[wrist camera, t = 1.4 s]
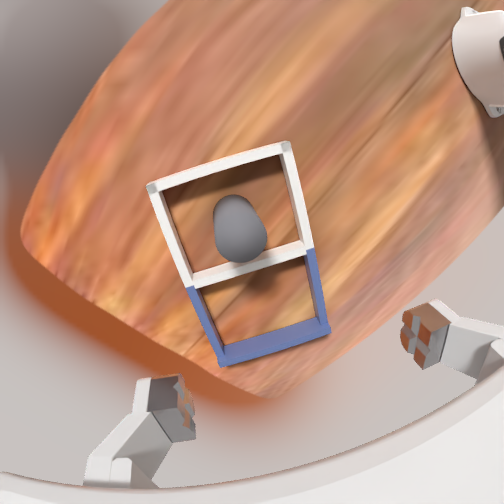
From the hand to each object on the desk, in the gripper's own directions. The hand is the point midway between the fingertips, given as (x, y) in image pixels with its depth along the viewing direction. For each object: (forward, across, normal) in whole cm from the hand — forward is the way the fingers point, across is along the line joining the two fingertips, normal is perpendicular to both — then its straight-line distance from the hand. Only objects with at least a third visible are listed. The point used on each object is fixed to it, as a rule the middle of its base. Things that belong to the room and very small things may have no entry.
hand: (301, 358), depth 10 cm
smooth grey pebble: (+25, 0, +1) cm, 25 cm away
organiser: (+25, -1, +7) cm, 26 cm away
